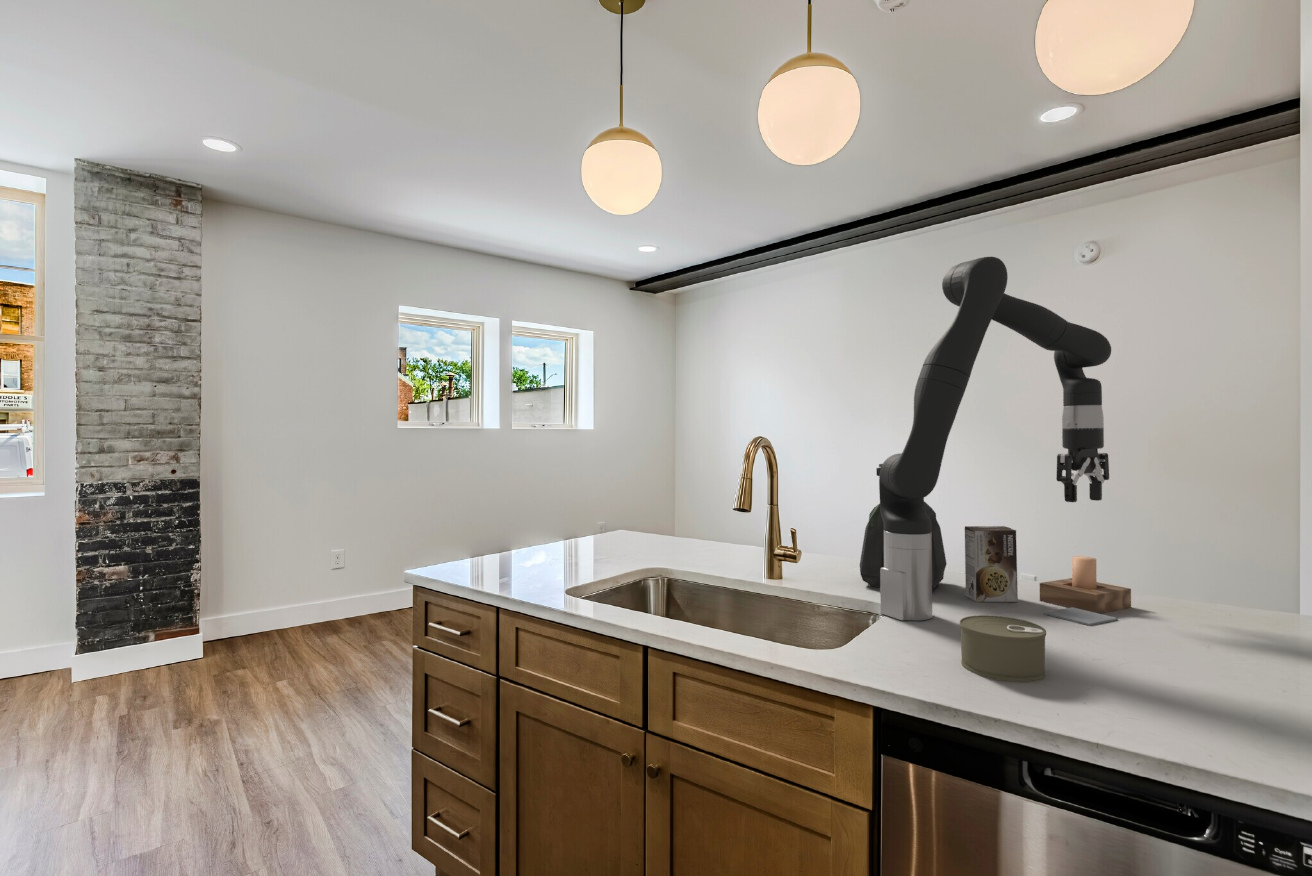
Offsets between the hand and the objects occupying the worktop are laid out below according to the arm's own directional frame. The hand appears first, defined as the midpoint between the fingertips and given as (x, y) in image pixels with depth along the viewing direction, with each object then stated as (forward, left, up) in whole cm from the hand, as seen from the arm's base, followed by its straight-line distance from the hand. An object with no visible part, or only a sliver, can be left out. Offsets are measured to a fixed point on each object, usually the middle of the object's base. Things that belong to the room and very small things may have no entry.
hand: (1083, 501), depth 139 cm
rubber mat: (-11, -6, -22) cm, 26 cm away
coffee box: (-14, +12, -23) cm, 29 cm away
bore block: (0, 0, -22) cm, 22 cm away
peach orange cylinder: (0, 0, -22) cm, 22 cm away
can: (-51, -19, -23) cm, 59 cm away
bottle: (-21, +31, -23) cm, 44 cm away
